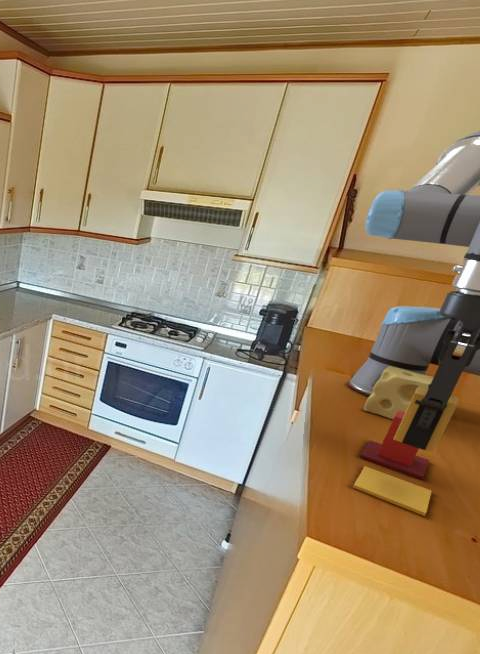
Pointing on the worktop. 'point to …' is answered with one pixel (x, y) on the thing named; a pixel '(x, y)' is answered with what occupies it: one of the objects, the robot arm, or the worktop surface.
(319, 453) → the worktop surface
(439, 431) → the yellow block
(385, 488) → the yellow mat
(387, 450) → the red block
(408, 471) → the red mat
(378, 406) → the cheese
